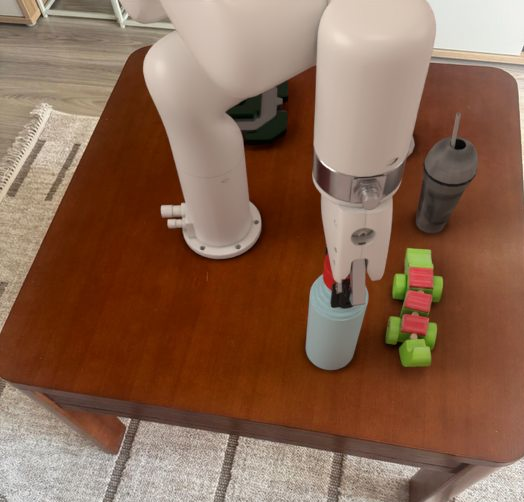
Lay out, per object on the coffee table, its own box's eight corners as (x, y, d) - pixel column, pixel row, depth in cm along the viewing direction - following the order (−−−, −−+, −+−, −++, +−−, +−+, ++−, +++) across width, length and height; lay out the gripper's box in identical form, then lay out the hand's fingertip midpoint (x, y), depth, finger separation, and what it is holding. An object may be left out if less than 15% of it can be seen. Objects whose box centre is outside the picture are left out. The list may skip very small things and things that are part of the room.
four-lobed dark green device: (194, 83, 101) (190, 61, 97) (288, 82, 100) (288, 59, 95) (184, 151, 93) (179, 130, 89) (286, 150, 92) (286, 129, 87)
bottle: (306, 370, 72) (313, 293, 55) (304, 327, 75) (311, 240, 57) (356, 369, 72) (379, 291, 54) (352, 326, 75) (373, 238, 57)
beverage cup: (452, 243, 81) (498, 138, 63) (404, 237, 82) (436, 132, 64) (454, 207, 84) (499, 97, 66) (408, 201, 85) (440, 92, 67)
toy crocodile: (395, 257, 80) (403, 231, 75) (440, 263, 79) (451, 238, 74) (380, 372, 72) (387, 353, 66) (429, 381, 71) (441, 362, 65)
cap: (364, 291, 57) (368, 276, 54) (325, 295, 57) (327, 280, 54) (358, 259, 59) (361, 243, 56) (320, 263, 59) (321, 247, 56)
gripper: (428, 235, 39) (389, 348, 56) (383, 89, 47) (361, 225, 63) (328, 246, 39) (318, 356, 56) (300, 98, 47) (299, 232, 63)
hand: (341, 285), depth 59 cm, fingers closed on cap, 4 cm apart
